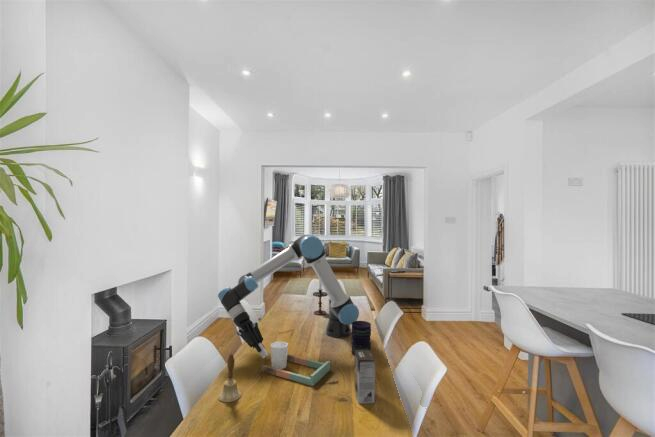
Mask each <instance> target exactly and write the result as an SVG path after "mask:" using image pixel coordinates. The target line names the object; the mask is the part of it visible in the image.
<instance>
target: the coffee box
mask: <svg viewBox="0 0 655 437" xmlns="http://www.w3.org/2000/svg"><path fill="white" fill-rule="evenodd" d="M354 393H355V396H356V400H357V403H358V404H360V405H361V404H362V405H363V404H375V401H376V400H375V397H376V396H375V393H376V359H375V357H374V355H373V353H372V351H370V350H355V356H354Z"/></svg>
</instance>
